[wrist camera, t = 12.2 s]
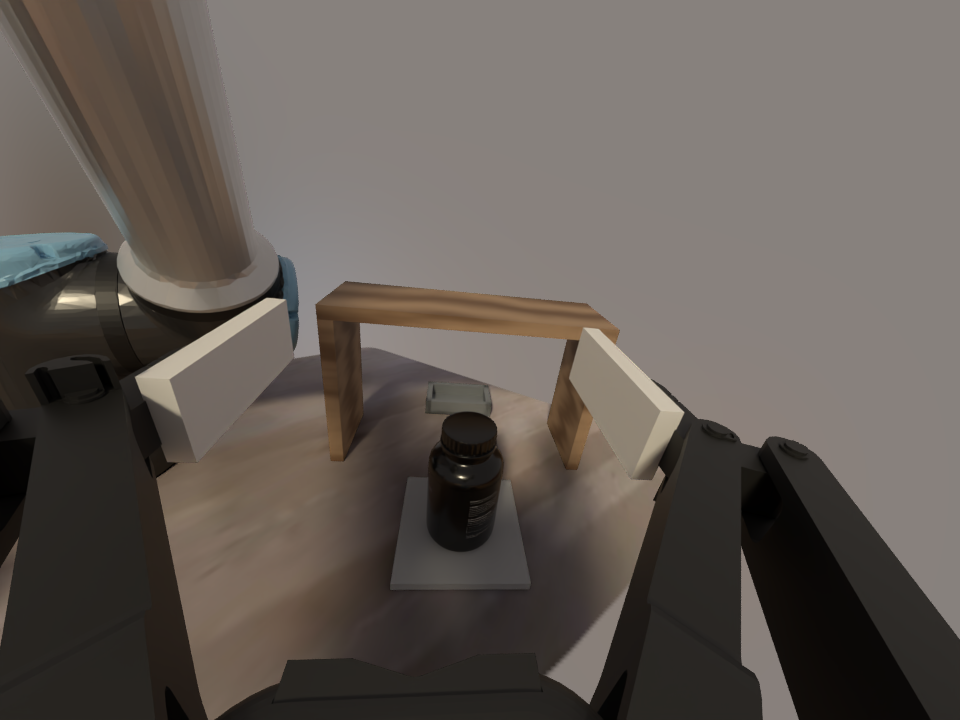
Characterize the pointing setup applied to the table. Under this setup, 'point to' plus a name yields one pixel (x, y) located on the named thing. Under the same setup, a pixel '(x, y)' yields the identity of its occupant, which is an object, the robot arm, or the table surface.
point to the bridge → (447, 312)
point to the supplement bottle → (464, 482)
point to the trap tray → (457, 398)
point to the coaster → (449, 570)
